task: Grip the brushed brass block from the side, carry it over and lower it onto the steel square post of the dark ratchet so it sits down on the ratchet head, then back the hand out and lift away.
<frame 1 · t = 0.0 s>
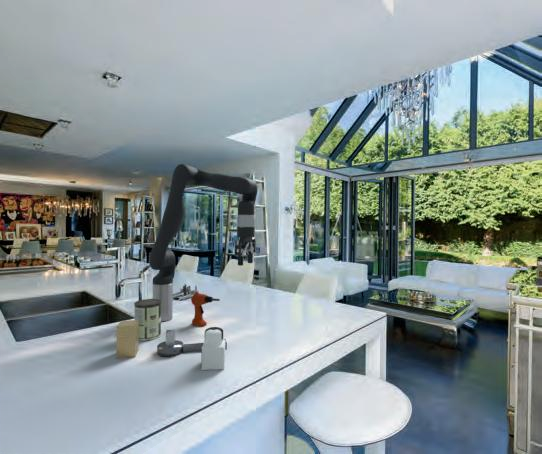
hand: (245, 264, 131), 29 cm above the worktop, tool pointing down, fingers open, 8 cm apart
coffee can: (147, 336, 127), on the worktop
brushed brass block: (127, 354, 109), on the worktop
toy drill: (205, 326, 139), on the worktop
medicine bottle: (213, 365, 102), on the worktop
ratchet: (170, 351, 111), on the worktop
grey toy warship: (180, 298, 191), on the worktop
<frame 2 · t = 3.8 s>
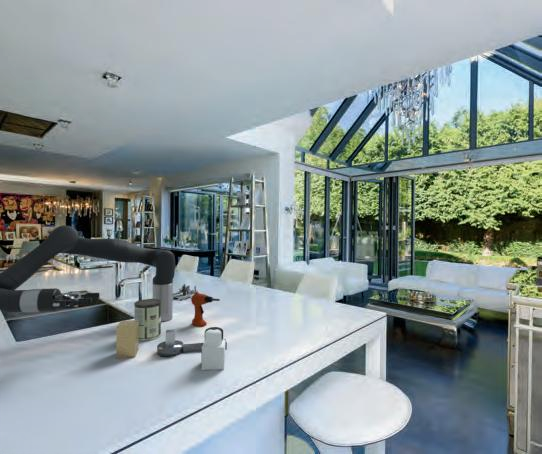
hand: (95, 298, 106), 20 cm above the worktop, tool horizontal, fingers open, 8 cm apart
nothing on the worktop moved.
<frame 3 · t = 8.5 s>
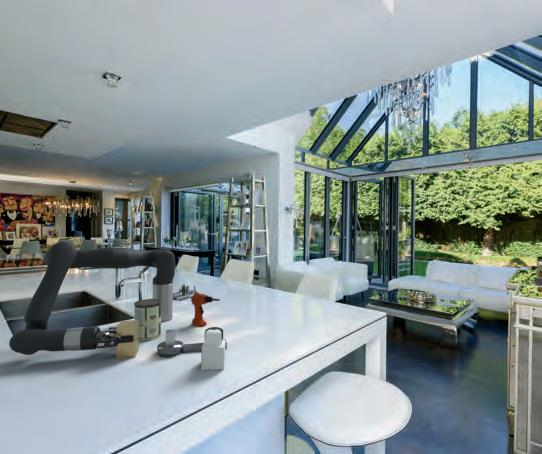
hand: (135, 335, 110), 6 cm above the worktop, tool horizontal, fingers closed on brushed brass block, 6 cm apart
brushed brass block: (127, 354, 109), on the worktop, touching gripper
everything else where it was.
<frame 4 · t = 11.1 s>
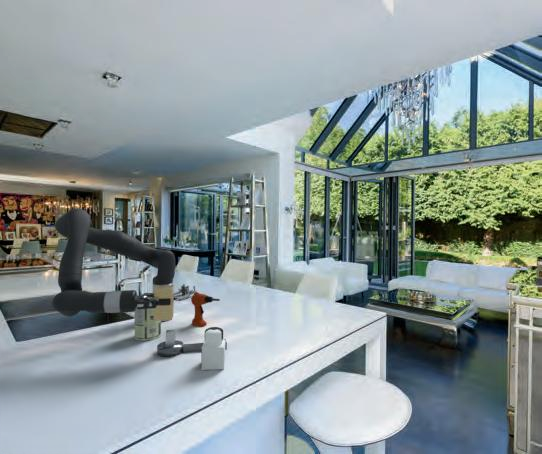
hand: (171, 299, 111), 19 cm above the worktop, tool horizontal, fingers closed on brushed brass block, 6 cm apart
brushed brass block: (164, 317, 111), point 12 cm above the worktop, touching gripper
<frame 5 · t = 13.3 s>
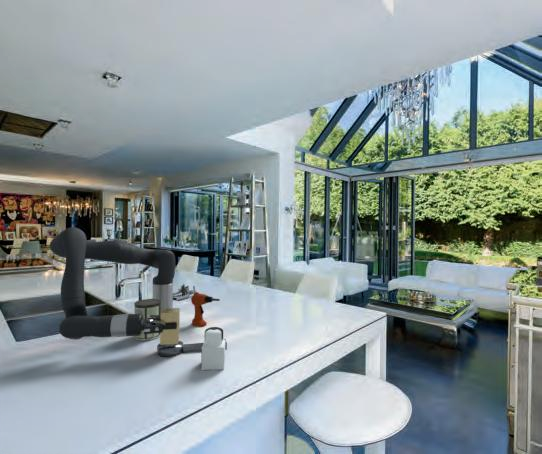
hand: (177, 322, 112), 10 cm above the worktop, tool horizontal, fingers closed on brushed brass block, 6 cm apart
brushed brass block: (170, 341, 111), point 4 cm above the worktop, touching gripper
when the fingers open (10 cm above the worktop, at t = 14.0 s): brushed brass block stays where it is, resting on ratchet.
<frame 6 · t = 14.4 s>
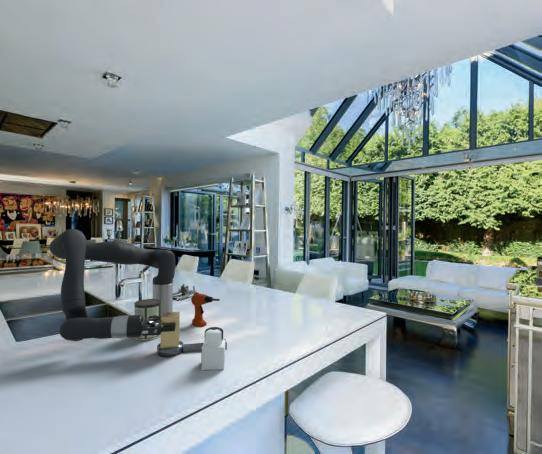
hand: (176, 323, 112), 10 cm above the worktop, tool horizontal, fingers open, 8 cm apart
brushed brass block: (170, 344, 111), point 2 cm above the worktop, touching ratchet
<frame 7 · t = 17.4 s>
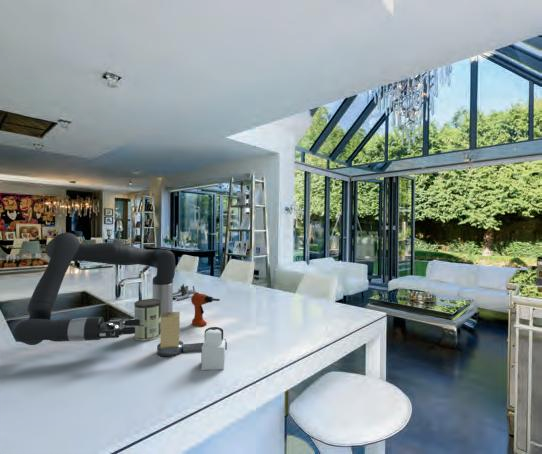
hand: (137, 326, 109), 10 cm above the worktop, tool horizontal, fingers open, 8 cm apart
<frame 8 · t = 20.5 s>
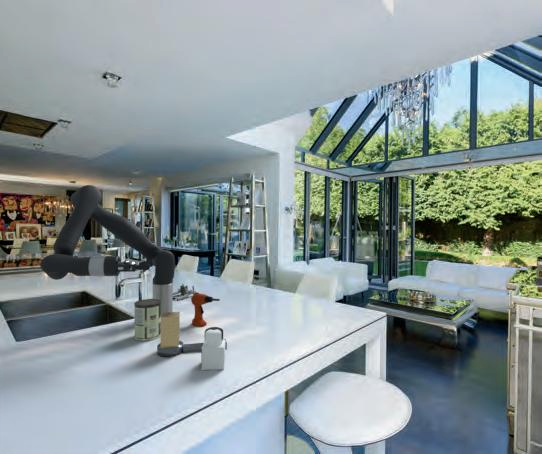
hand: (151, 265, 119), 30 cm above the worktop, tool horizontal, fingers open, 8 cm apart
at the end: brushed brass block 0.0 cm off-centre on the ratchet, point 2.5 cm above the ratchet's base; brushed brass block tilted 0°; the gripper is holding nothing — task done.
